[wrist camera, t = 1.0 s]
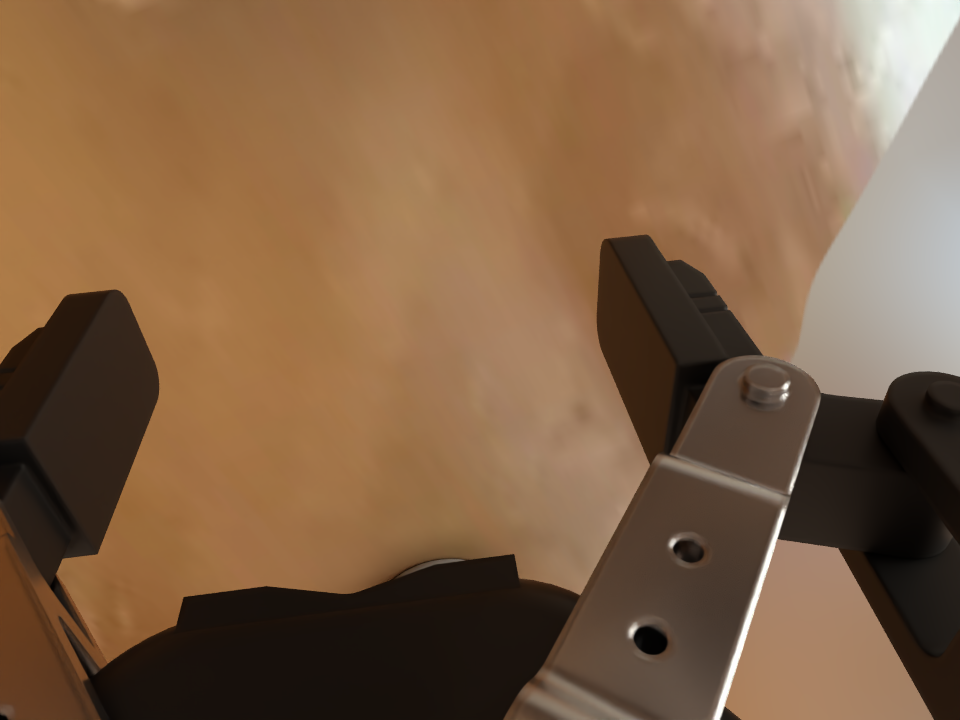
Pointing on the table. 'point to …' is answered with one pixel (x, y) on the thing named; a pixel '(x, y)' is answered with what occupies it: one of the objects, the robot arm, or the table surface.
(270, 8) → the table surface
